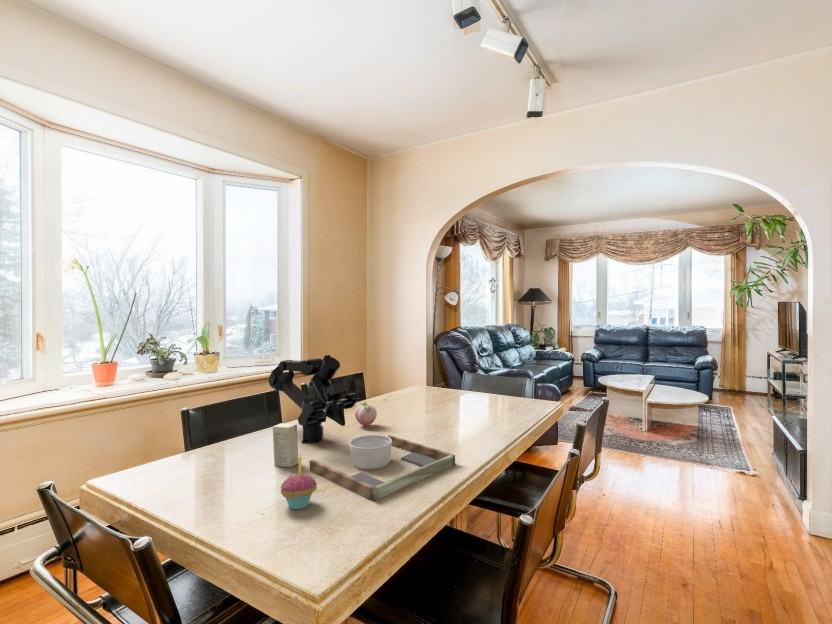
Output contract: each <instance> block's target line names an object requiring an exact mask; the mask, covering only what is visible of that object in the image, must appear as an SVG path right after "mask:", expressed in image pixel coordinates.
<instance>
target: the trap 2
mask: <svg viewBox="0 0 832 624" xmlns="http://www.w3.org/2000/svg"><path fill="white" fill-rule="evenodd" d="M400 460H401V461H403V460H404V462H406V461H407V462H406V463H409V464H411V463H412V465H414V464H415V466H417V465H418V466H417V467H419V468H420V467H422V466H424V465H427V464H429V463H432V462H434V461H436V459H433V458H430V457H427V456H424V455H421V454H418V453H415V452H414V453H412V452H410V453H409V454H406V455H404V456H401V457H400Z"/></svg>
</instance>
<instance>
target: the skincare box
mask: <svg viewBox="0 0 832 624" xmlns="http://www.w3.org/2000/svg"><path fill="white" fill-rule="evenodd" d="M298 438H299V437H298V424H297V423H287V422H286V423H284V422H281V423H278V424H276V425H273V426H272V443H273V446H272V447H273V465H274V466H276V467H283V468H284V467H285V468H292V467H294V466H295V465H297V464H299V441H298Z"/></svg>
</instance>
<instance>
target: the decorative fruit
mask: <svg viewBox="0 0 832 624" xmlns="http://www.w3.org/2000/svg"><path fill="white" fill-rule="evenodd" d="M354 416H355V417H354V418H355V419H356V421H357V422H358V424H360V425H361V426H363V427H365V428H366V427H369V426H370V425H372V424H373V423H374V422H375V421H376V418H377V416H378V413H377V409H376V407H375V406H374V405H372V404H368V403H367V402H366V401H365V402H364V403H361V404H360V405H359V406H357V407H356V408H355V410H354Z"/></svg>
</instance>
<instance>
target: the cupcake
mask: <svg viewBox="0 0 832 624" xmlns="http://www.w3.org/2000/svg"><path fill="white" fill-rule="evenodd" d="M298 461H299V462H298V473H297V474H295V475H291V476H289V477H287V478H286V479H285V480H284V481H283V482H282V483H281V486H280V493H281V495H282V497H283V498H285V499H286V502H287V505H288V507H289V508H290V509H291V508H292V510H301V509H304V508H306V507H308V506H309V504H310V501H311V497H312V494H313V493H314V492H316V491H317V485H318V484H317V481H316V479H315V477H313V476H311V475H308V474H304V473H302V456H301V453H299V456H298Z"/></svg>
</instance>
